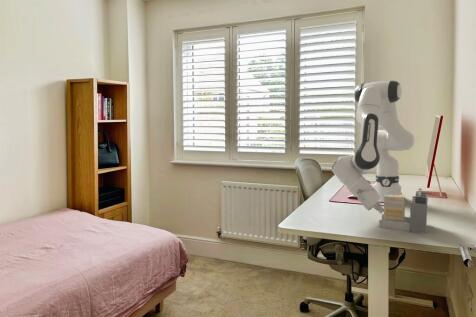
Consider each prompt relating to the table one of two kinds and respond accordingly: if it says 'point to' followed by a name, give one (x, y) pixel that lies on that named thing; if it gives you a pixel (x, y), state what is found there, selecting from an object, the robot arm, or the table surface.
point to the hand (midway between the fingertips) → (382, 211)
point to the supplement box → (394, 207)
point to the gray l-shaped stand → (411, 215)
